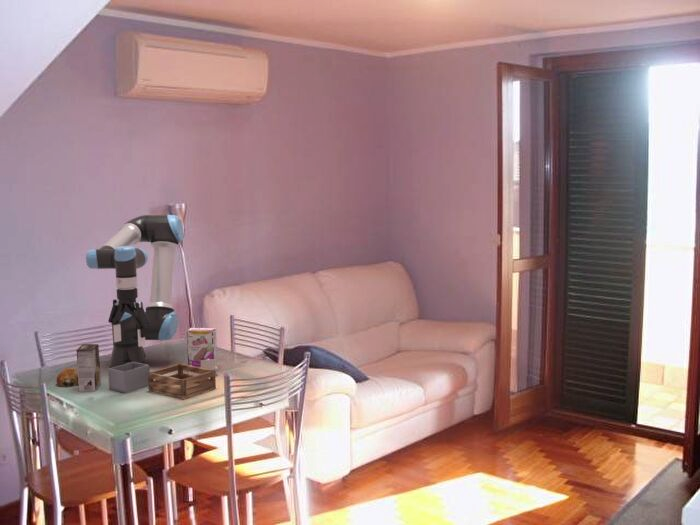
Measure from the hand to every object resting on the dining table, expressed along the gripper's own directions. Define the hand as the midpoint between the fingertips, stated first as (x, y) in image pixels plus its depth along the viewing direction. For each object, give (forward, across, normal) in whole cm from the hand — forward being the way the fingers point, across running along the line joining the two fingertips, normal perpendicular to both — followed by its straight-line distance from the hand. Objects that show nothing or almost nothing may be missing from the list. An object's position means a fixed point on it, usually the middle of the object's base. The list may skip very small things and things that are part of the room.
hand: (129, 343), depth 295 cm
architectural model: (+18, +14, +26) cm, 34 cm away
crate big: (+17, +19, +8) cm, 26 cm away
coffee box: (+17, -13, -9) cm, 23 cm away
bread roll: (+17, -25, -9) cm, 31 cm away
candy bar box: (+17, +3, +34) cm, 39 cm away
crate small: (+17, 0, -1) cm, 17 cm away
